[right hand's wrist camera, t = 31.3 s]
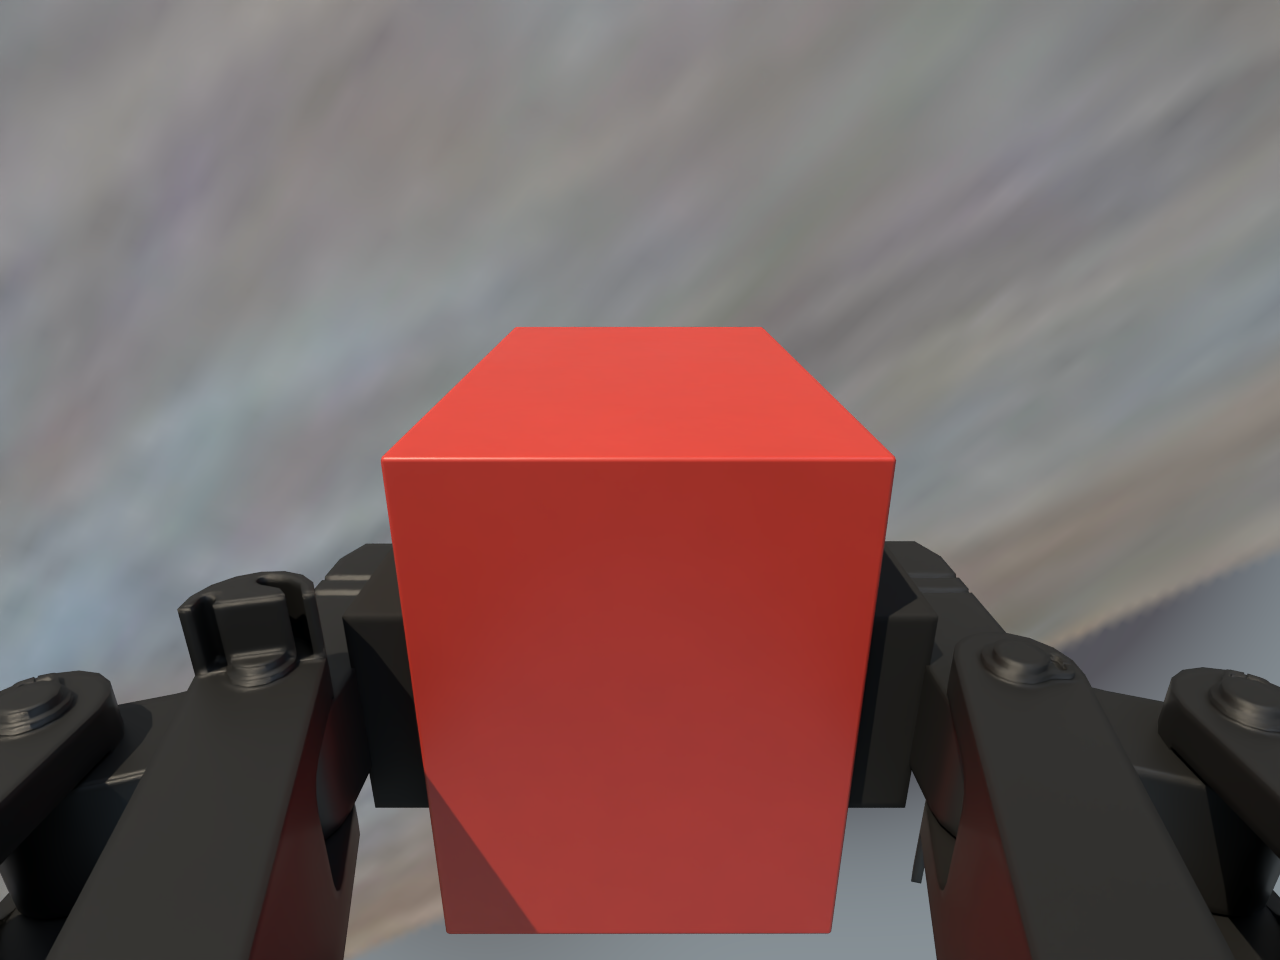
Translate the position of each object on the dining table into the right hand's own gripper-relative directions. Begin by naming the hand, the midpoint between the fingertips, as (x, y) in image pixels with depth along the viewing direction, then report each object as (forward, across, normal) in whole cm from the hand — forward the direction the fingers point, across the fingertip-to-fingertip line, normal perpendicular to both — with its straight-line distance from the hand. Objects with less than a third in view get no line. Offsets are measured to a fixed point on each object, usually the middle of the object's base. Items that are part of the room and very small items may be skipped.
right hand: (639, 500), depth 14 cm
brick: (+1, 0, 0) cm, 1 cm away
